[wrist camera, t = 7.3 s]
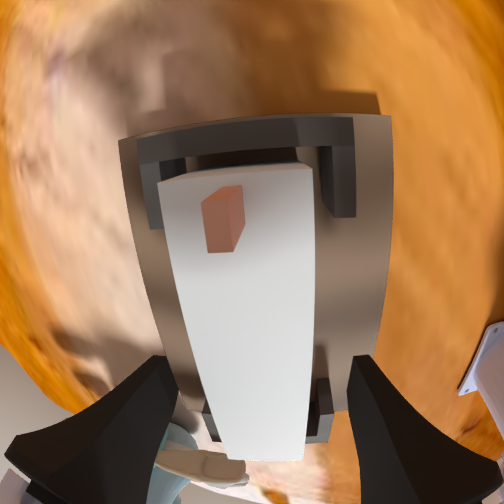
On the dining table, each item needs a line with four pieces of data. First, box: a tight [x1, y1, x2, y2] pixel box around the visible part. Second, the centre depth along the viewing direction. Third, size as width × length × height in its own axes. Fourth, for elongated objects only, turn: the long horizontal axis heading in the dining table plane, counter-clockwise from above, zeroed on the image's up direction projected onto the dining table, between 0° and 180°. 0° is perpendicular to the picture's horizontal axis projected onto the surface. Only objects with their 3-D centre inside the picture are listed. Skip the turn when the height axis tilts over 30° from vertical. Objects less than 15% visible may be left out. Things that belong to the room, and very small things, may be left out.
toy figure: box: [63, 418, 249, 504], centre depth 15 cm, size 17×10×15 cm, turn 94°
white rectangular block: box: [157, 159, 315, 461], centre depth 11 cm, size 14×4×8 cm, turn 5°
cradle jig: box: [118, 113, 394, 444], centre depth 14 cm, size 19×13×4 cm
